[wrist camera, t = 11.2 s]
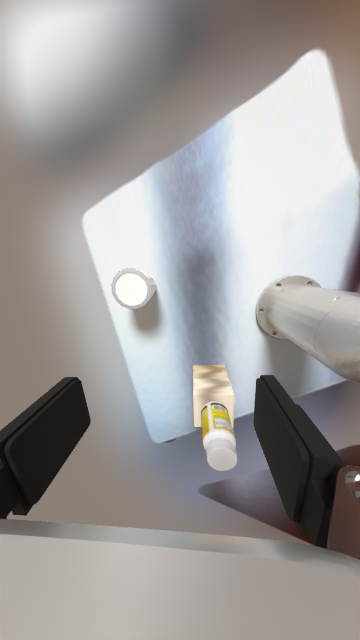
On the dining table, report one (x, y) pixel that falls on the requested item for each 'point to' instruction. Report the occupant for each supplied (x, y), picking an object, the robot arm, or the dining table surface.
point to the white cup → (133, 288)
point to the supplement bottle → (218, 436)
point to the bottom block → (209, 371)
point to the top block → (212, 396)
